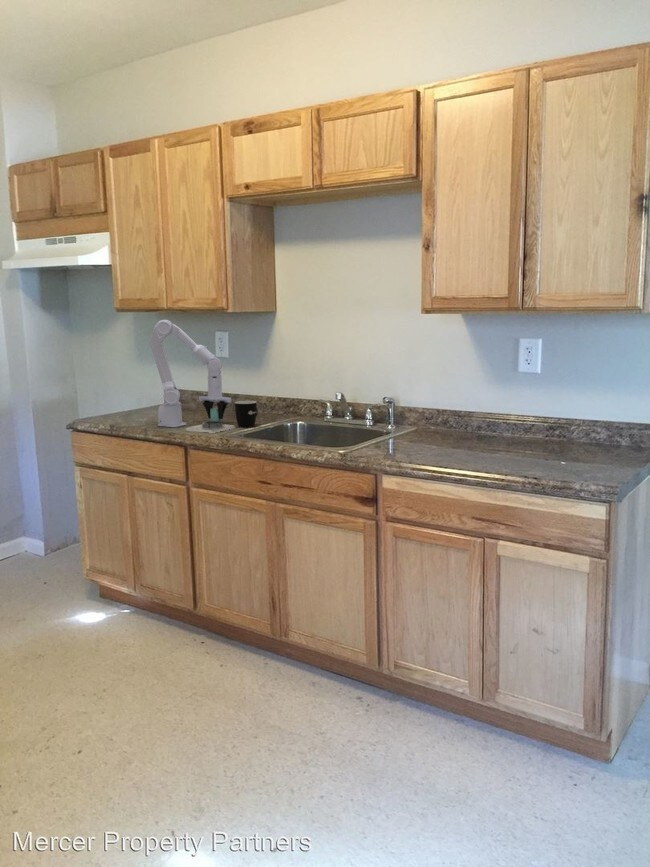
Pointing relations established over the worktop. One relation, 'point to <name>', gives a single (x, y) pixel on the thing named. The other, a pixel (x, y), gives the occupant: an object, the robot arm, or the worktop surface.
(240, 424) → the mug
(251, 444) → the worktop surface
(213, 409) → the knob
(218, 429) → the panel
